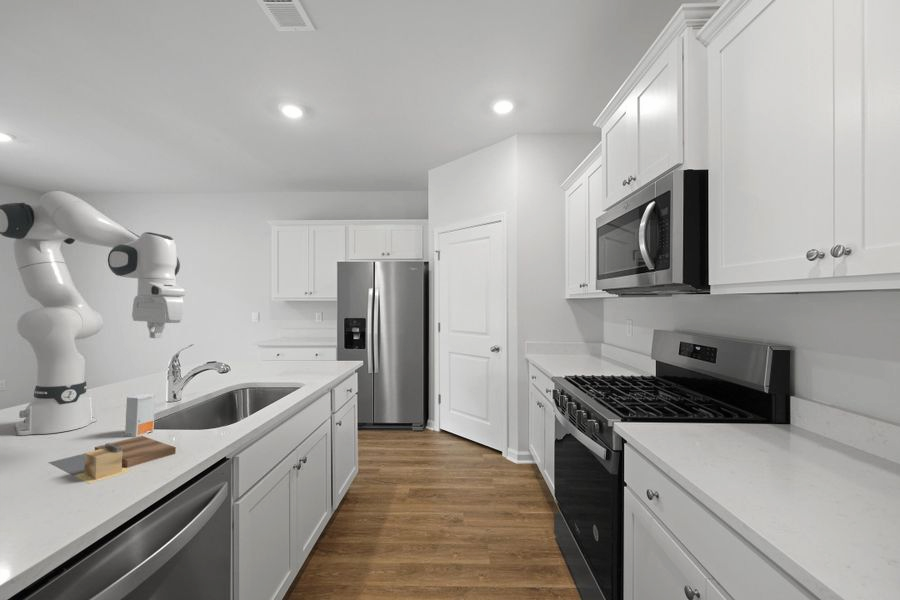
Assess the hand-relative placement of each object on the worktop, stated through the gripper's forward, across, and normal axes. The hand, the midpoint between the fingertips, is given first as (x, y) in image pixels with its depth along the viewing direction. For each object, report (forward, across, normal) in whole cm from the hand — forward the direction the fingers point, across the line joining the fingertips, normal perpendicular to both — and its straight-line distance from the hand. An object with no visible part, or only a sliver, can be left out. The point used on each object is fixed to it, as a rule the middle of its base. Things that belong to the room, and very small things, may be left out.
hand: (155, 338), depth 114 cm
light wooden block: (+31, +10, -15) cm, 36 cm away
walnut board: (+31, +2, -5) cm, 32 cm away
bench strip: (+31, +2, -15) cm, 35 cm away
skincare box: (+31, -16, +4) cm, 35 cm away
